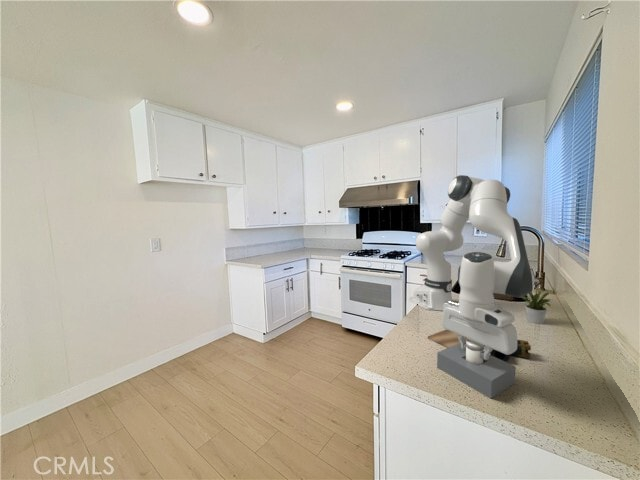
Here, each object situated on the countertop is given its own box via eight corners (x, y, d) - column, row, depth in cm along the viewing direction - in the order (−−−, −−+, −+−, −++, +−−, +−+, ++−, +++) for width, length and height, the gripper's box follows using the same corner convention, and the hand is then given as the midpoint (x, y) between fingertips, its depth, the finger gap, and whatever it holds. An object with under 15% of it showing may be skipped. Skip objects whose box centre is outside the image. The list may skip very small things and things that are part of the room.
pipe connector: (523, 332, 91) (535, 353, 78) (523, 346, 92) (535, 369, 78) (485, 327, 96) (490, 346, 83) (485, 340, 97) (490, 361, 84)
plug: (462, 373, 77) (462, 341, 76) (470, 368, 80) (471, 337, 78) (477, 381, 73) (478, 348, 72) (486, 376, 76) (487, 344, 75)
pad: (427, 338, 99) (427, 336, 99) (450, 329, 106) (450, 327, 106) (462, 355, 87) (462, 353, 87) (486, 344, 93) (486, 342, 93)
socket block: (437, 367, 81) (437, 352, 80) (460, 356, 86) (461, 342, 86) (490, 398, 67) (491, 380, 66) (514, 383, 72) (515, 366, 72)
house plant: (507, 320, 112) (508, 284, 110) (514, 312, 121) (516, 278, 119) (550, 331, 101) (553, 291, 100) (555, 320, 110) (557, 284, 109)
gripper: (437, 300, 82) (436, 341, 83) (509, 323, 64) (506, 375, 66) (449, 297, 85) (449, 336, 86) (521, 318, 67) (519, 367, 68)
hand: (474, 353), depth 76 cm, fingers closed on plug, 4 cm apart
